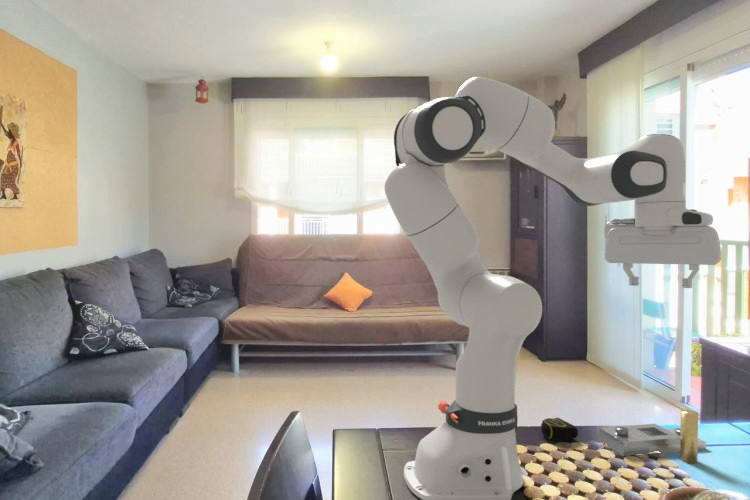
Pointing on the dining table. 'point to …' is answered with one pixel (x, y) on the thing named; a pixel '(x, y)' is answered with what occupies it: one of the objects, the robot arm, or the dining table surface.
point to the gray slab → (643, 439)
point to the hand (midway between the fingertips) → (659, 286)
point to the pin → (689, 436)
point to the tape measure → (558, 429)
